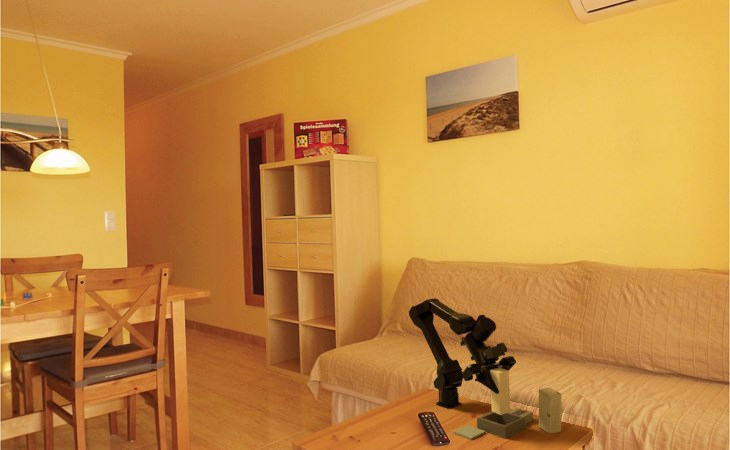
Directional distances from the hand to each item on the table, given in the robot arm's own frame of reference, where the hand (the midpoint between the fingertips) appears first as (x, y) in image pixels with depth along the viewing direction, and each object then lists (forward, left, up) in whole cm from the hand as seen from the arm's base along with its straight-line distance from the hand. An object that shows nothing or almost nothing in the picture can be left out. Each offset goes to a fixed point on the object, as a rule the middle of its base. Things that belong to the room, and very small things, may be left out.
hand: (503, 391), depth 169 cm
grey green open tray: (-1, +4, -12) cm, 13 cm away
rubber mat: (-6, -9, -12) cm, 16 cm away
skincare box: (+10, +10, -12) cm, 19 cm away
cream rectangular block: (-1, 0, -7) cm, 7 cm away
